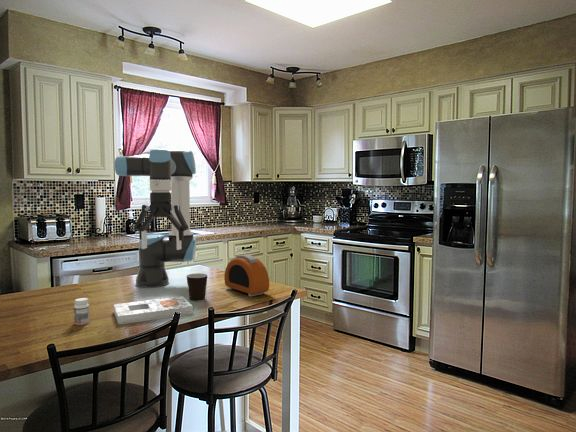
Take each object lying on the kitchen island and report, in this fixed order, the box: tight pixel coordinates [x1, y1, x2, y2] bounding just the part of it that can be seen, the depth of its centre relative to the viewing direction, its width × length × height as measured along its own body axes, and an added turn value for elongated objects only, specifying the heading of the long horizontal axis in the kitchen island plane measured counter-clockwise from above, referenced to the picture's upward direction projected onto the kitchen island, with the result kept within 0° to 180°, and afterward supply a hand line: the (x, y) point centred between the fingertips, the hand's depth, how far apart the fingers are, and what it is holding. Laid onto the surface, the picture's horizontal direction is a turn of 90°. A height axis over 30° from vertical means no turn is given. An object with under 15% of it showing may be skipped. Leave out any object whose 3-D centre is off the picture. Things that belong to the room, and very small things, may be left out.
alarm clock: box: [224, 254, 270, 297], centre depth 190 cm, size 23×9×17 cm, turn 41°
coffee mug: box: [186, 273, 208, 302], centre depth 179 cm, size 12×9×10 cm
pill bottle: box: [73, 297, 90, 326], centre depth 147 cm, size 5×5×8 cm
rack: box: [113, 295, 194, 326], centre depth 158 cm, size 16×26×3 cm, turn 118°
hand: (161, 248), depth 157 cm, fingers open, 13 cm apart
